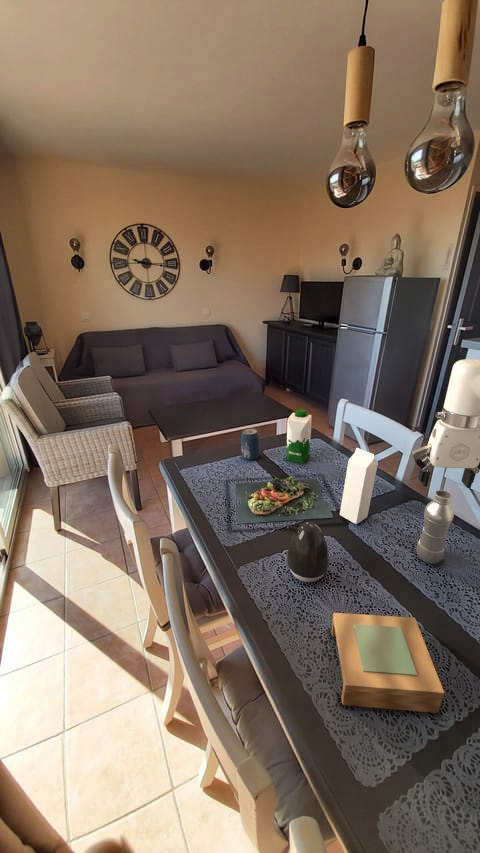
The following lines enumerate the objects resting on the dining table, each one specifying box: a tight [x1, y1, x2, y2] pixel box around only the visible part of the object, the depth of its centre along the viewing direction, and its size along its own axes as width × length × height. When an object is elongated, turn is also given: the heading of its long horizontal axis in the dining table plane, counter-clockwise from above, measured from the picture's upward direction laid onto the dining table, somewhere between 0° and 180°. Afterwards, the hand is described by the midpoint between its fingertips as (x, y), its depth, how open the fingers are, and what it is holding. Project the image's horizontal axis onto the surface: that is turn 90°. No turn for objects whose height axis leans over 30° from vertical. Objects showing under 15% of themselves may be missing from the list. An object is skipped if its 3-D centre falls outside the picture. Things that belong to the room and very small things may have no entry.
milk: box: [339, 447, 379, 525], centre depth 106 cm, size 6×6×22 cm
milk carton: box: [286, 408, 312, 464], centre depth 140 cm, size 9×9×20 cm
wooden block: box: [331, 612, 445, 714], centre depth 68 cm, size 16×14×6 cm
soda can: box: [240, 427, 260, 462], centre depth 144 cm, size 7×7×12 cm
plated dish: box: [234, 476, 334, 525], centre depth 118 cm, size 35×28×7 cm
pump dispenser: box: [286, 521, 330, 583], centre depth 88 cm, size 10×10×15 cm
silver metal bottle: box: [415, 489, 455, 565], centre depth 90 cm, size 6×7×20 cm
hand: (444, 484), depth 85 cm, fingers open, 9 cm apart
